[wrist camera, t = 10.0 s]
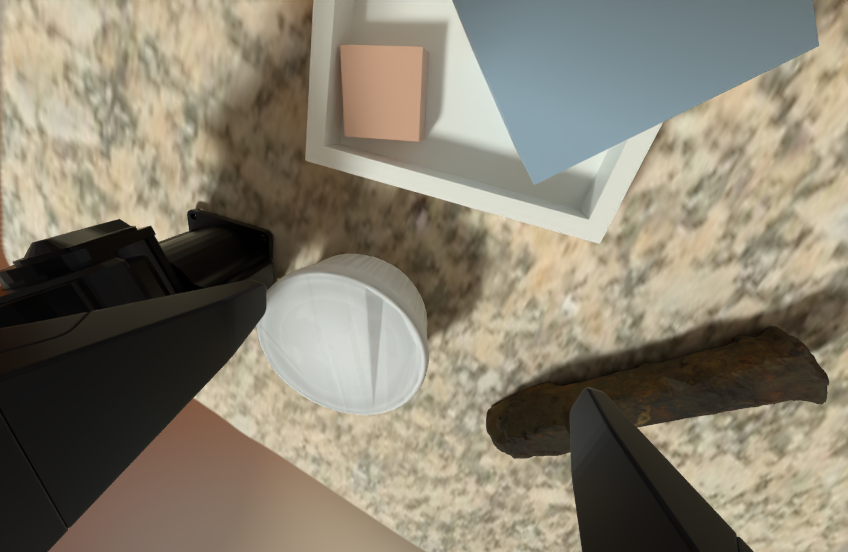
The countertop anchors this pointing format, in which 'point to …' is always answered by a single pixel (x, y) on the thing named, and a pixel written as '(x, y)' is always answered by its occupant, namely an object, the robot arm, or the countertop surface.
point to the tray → (453, 126)
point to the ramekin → (347, 334)
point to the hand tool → (665, 391)
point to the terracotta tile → (384, 91)
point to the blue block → (619, 64)
